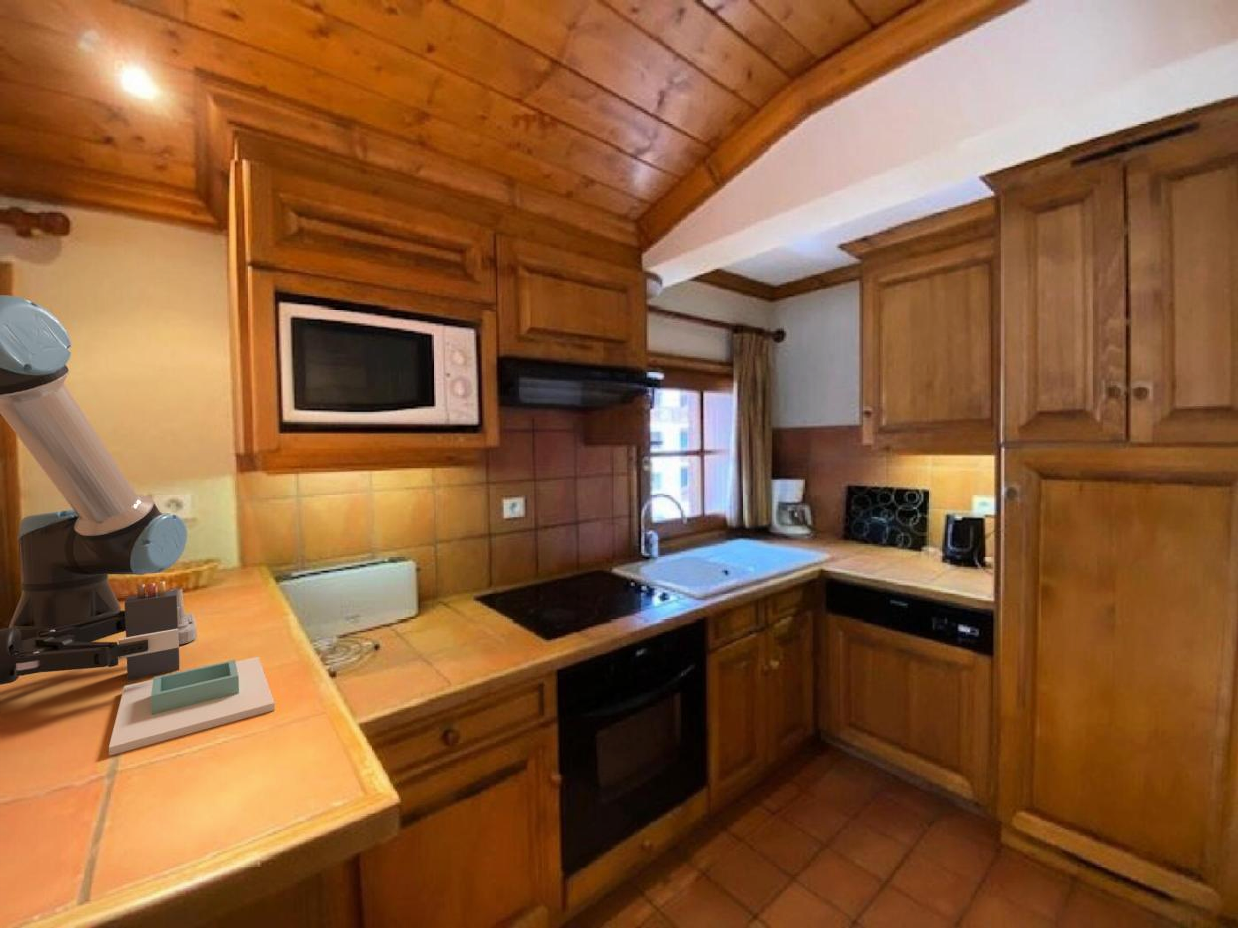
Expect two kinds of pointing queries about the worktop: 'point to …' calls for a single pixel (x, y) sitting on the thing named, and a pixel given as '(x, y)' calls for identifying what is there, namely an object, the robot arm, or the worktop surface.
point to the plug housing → (151, 628)
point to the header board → (189, 703)
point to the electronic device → (185, 622)
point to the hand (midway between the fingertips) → (179, 625)
